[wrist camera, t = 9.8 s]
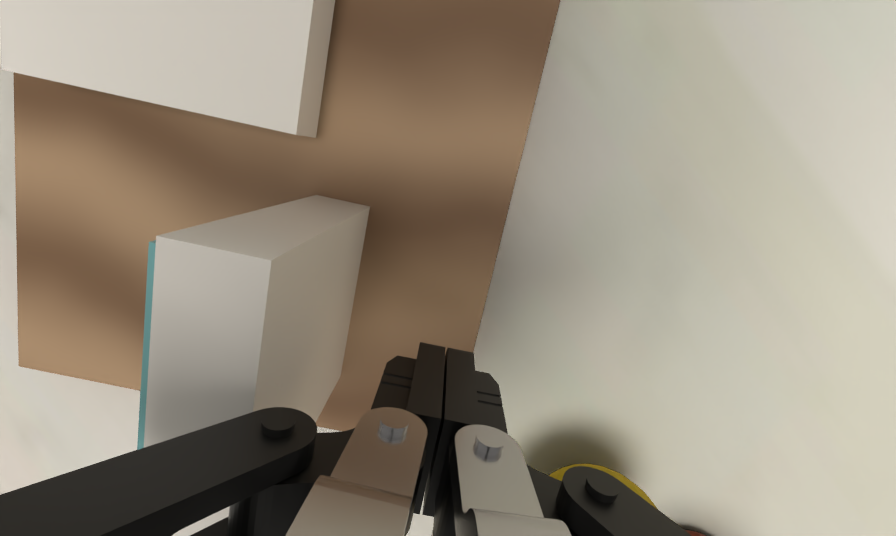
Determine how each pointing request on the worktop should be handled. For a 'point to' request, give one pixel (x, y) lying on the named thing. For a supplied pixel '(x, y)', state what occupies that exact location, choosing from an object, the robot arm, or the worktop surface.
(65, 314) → the board
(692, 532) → the supplement bottle
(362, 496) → the robot arm
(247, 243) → the tile near
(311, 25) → the tile far
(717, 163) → the worktop surface
